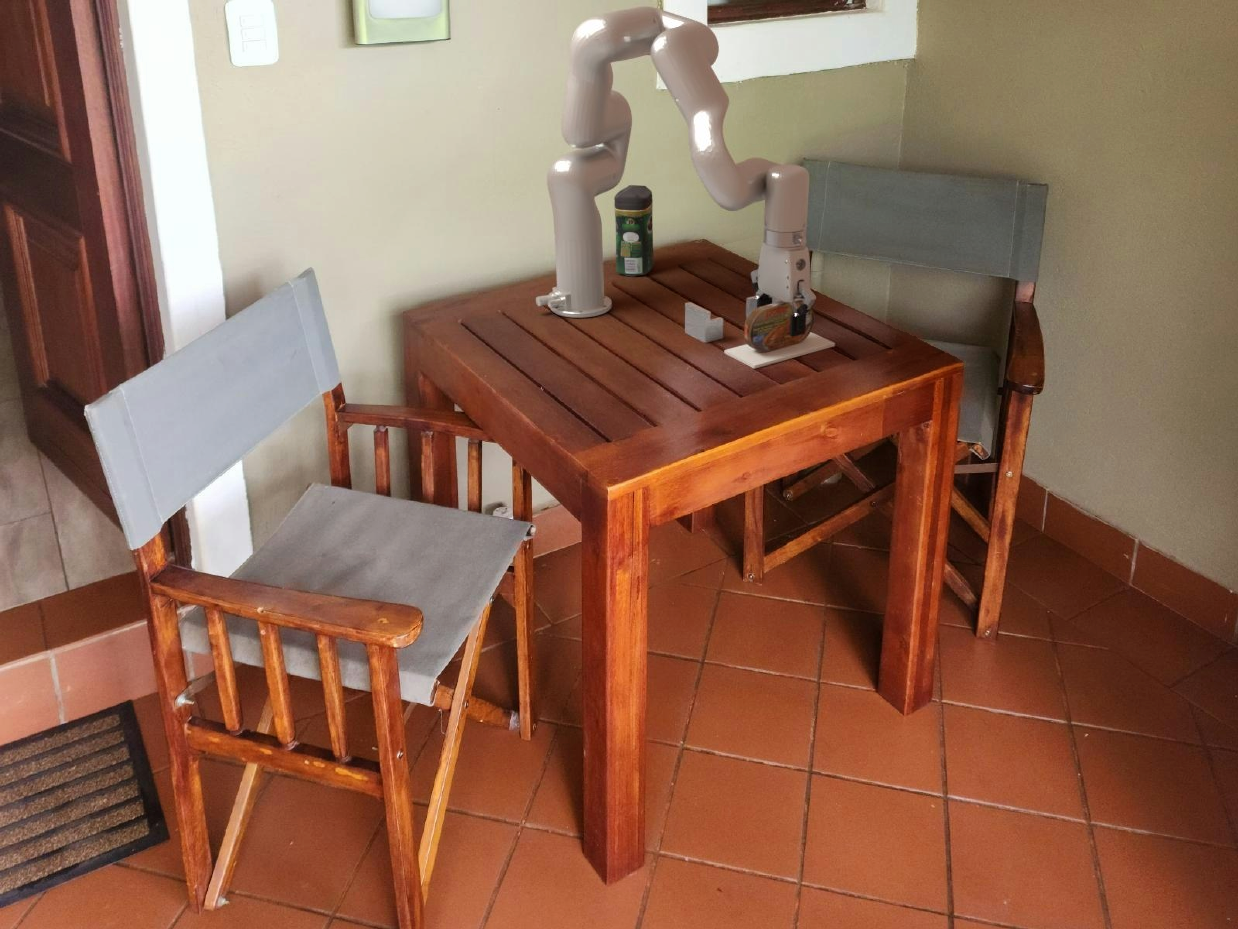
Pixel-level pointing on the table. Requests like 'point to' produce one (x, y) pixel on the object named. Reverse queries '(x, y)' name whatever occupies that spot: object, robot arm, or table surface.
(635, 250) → the coffee jar
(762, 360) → the mat
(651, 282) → the table surface
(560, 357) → the table surface
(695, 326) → the end brackets
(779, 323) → the tin
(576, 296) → the robot arm
